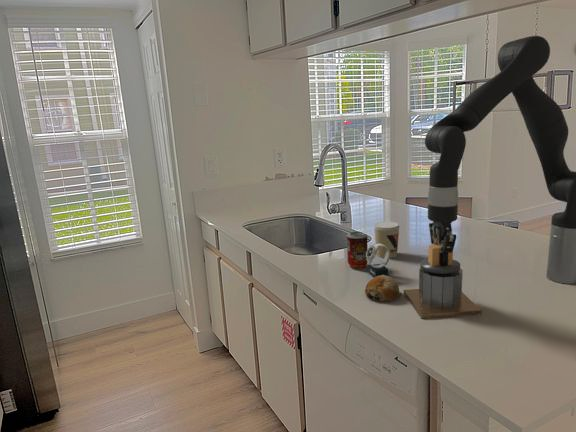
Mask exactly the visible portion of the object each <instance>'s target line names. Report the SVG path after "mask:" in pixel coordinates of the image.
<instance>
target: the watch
mask: <svg viewBox="0 0 576 432" xmlns="http://www.w3.org/2000/svg"><path fill="white" fill-rule="evenodd" d="M380 246H383V247H385V248H386V250H387V252H386V255H385V258H382V259H383V260H382V261H381V263H377V264H376V263H375V264H372V262H373V260H374V259H375V258H376V257H377V255H376V254H377V250H378V248H379V247H380ZM390 256H391V255H390V250H389V249H388V248H387V247H386V246H385V245H383V244H379V243H378V244H375V243H374V244H372V245H370V246H368V247H367V252H366V259H367V264H368V267H369V269H368V270H369V271H368V273H369V275H370V276H371V277H372V279H373V278H374V277H376V276H380V275H385V276H389V269H388V268H387V267H386V266H387V265H388V264H389V261H390V259H391V258H390Z"/></svg>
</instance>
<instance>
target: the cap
mask: <svg viewBox="0 0 576 432" xmlns="http://www.w3.org/2000/svg"><path fill="white" fill-rule="evenodd" d="M427 250H428V254H427V255H428V256H427V257H426V258H423V259H422V260H420V263H419V264H420V267H421V268H422V269H423V270H425V271H428V272H430V273H433V274H439V275H448V274H451V273H455V272H458V271H459V270H460V268H461V263H460V262H459V261H457V259H453V258H454V257H453V256H454V251H453V252H452V253H448V265H447V266H440V265H439V253H440V252H439V245H433V244H428V249H427Z"/></svg>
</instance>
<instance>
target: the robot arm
mask: <svg viewBox="0 0 576 432" xmlns="http://www.w3.org/2000/svg"><path fill="white" fill-rule="evenodd" d="M550 55H551V47H550V44H549V42H548V40H547V39H546V38H545V37H543V36H540V35H531V36H527V37H523V38H518V39H514V40H512V41H509V42H507V43H504V44H503V45H502V46H501V47H500V49H499V51H498V54H497V65H498V69H499V71H500V72H498V73H497V74H496V75H495V76H493V77H492V78H490V79H488V80H487V81H486V82H484V83H483V84H482V85H480V86H478V87H477V88H476V89H474V90H473V91H472V92H470V93H469V94H468V95H467V97H466V98H464V100H463V101H462V102H461V103H460V104H459V105H458V106H457V107H456V108H455V109H454V110H453V111H452V112H450V113H448V114H447V115H446V116H444V117H442V118H441V119H440V120H439V121H437V122H436V123H434V124H433V125H432V126H431V127H430V129H429V130H428V131H427V133H426V135H425V137H424V138H425V139H424V146H425V148H426V149H427V150H428V151H430V152H432V153H434V154H440V156H439V160H438V162H435V163H433V164H431V166H430V168H429V182H428V183H429V187H428V193H427V196H428V197H427V219H428V220H429V221H431V223H430V222H429V223H428V226H429V227H428V228H429V237H430V243H431V244H430V245H439V252H440V253H439V265H440V266H447V265H448V253H452V252H453V253H454V248H455V245H456V241H457V234H453V228H452V223H453V222H455V221H457V219H458V209H459V187H458V186H459V183H458V182H459V169H460V166H461V163H462V161H463V160H462V159H463V157H464V154H465V149H466V146H467V145H466V144H467V137H466V135H465V132H469V131H472V130H475V128H476V127H478V126H479V124H480V123H481V122H482V121H483V120H485V119H486V117H487V116H488V115H489V114H490V113H491V112H492V111H493V110H494V108H496V107H497V106H498V105H499V104H500V103H501V102H502V101H503V100H504V99H506V98H507V97H508V96H509V95H510V94H511V93H512V95H513V98H514V99H515V102H516V104H517V106H518V109H519V111H520V114H521V115H522V118H523V121H524V124H525V126H526V129H527V132H528V134H529V136H530V139H531V142H532V143H533V146H534V148H535V152H536V153H537V157H538V160H539V162H540V166H541V169H542V173H543V176H544V181H545V185H546V188H547V190H548V191H547V192H548V193H549V195H550V196H551V197H552V198H553V199H555V200H556V201H560V202H564V203H566V205H565V209H564V211H562V212H561V211H560V212H555V213H553V214H552V216H551V222H550V223H551V224H550V233H549V242H548V243H549V245H548V252H547V265H546V278H547V279H549V280H550V281H553V282H557V283H560V284H567V285H568V284H569V285H571V284H572V285H573V284H576V171H572V170H571V169H570V168H569V165H568V164H567V162H566V159H565V155H564V153H565V148H566V143H567V141H568V137H569V127H568V126H569V125H568V124H567V120H566V117H565V115H564V113H563V109H562V108H561V107H560V105H559V104H557V102H556V101H555V100H554V99H553V98H552V97H551V96H549V95H548V94H547V93H546V92H545V91H543V90H542V88H540V87H539V85H538V83H536V81H535V78H534V77H533V76H534V75H536V74H537V73H538V72H539V71H540V70H542V69H543V68H544V66H545V65H546V64H547V63H548V61H549V58H550Z"/></svg>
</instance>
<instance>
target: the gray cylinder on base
mask: <svg viewBox="0 0 576 432" xmlns="http://www.w3.org/2000/svg"><path fill="white" fill-rule="evenodd" d="M418 271H419V274H418V276H419V277H418V288H409V289H403V291H402V292H403V295H404V297H405V298H406V299H407V301H408V303H410V305H411V306H412V308H413V309H414V311H416V313H417V315H418V316H419V317H420V319H421V320H422V319H434V318H435V319H436V318H446V317H447V318H449V317H465V316H466V317H467V316H477V315H479V314H480V315H482V309H481V308H479V307H478V306H477V304H476V303H474V302H473V301H472V300H471V299H470V298H469V297H468V296H467V295H466V294H465V293H464V292H463V269H462V268H461V267H460V270H459V271H458V272H455V273H451V274H448V275H439V274H433V273H430V272H428V271H425V270H423V269H422V268H421V266H420V267H419V270H418Z"/></svg>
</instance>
